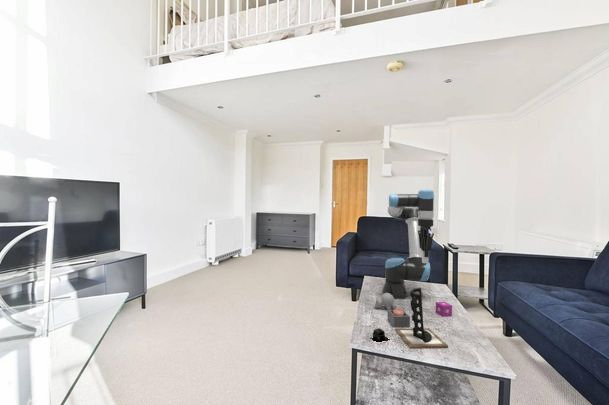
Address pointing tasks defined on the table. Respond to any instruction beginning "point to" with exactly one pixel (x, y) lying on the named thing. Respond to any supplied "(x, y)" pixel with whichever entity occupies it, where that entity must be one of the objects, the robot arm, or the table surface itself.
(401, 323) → the button housing
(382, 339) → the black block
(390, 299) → the round bodied animal figurine
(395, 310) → the button
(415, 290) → the holder
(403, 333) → the board
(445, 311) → the puzzle toy
